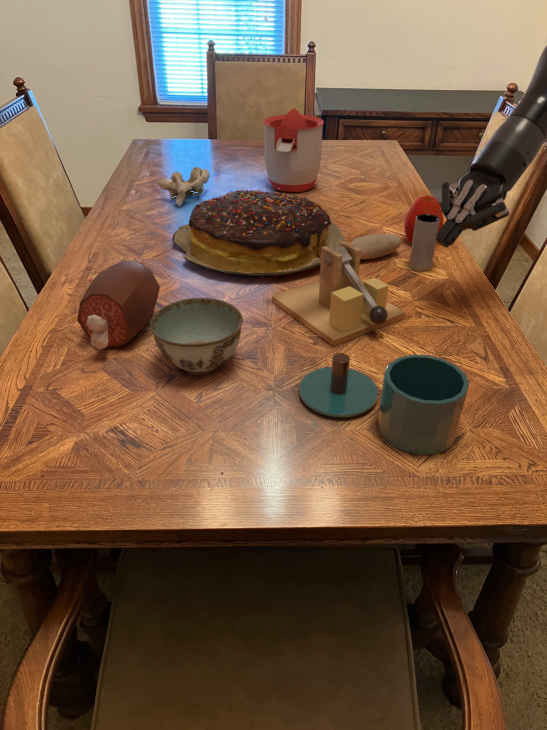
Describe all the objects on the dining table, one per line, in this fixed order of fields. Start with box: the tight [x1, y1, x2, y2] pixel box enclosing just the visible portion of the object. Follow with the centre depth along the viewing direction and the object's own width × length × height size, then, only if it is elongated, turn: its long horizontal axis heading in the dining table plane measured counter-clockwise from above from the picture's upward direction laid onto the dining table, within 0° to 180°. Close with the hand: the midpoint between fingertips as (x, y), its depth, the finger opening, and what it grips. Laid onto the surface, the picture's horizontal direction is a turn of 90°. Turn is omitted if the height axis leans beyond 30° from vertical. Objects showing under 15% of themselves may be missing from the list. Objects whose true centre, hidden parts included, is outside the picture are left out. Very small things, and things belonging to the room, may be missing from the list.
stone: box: [350, 233, 402, 260], centre depth 119 cm, size 6×6×12 cm
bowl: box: [149, 297, 244, 376], centre depth 87 cm, size 14×13×8 cm
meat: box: [76, 258, 161, 351], centre depth 94 cm, size 20×12×10 cm, turn 170°
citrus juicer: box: [262, 108, 325, 193], centre depth 151 cm, size 16×17×20 cm
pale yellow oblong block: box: [329, 286, 364, 333], centre depth 94 cm, size 3×4×6 cm
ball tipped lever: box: [334, 246, 388, 324], centre depth 95 cm, size 15×3×3 cm, turn 34°
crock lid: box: [298, 352, 379, 418], centre depth 81 cm, size 11×11×7 cm
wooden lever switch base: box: [271, 240, 406, 347], centre depth 99 cm, size 18×16×12 cm
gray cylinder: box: [408, 214, 440, 272], centre depth 114 cm, size 4×4×10 cm
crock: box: [377, 354, 470, 456], centre depth 74 cm, size 10×10×8 cm
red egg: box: [403, 194, 444, 244], centre depth 124 cm, size 8×8×11 cm
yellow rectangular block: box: [362, 277, 389, 317], centre depth 97 cm, size 3×2×6 cm
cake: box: [171, 189, 346, 277], centre depth 123 cm, size 37×37×10 cm
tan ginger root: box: [157, 166, 211, 208], centre depth 148 cm, size 9×14×8 cm, turn 136°
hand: (441, 243), depth 93 cm, fingers closed
